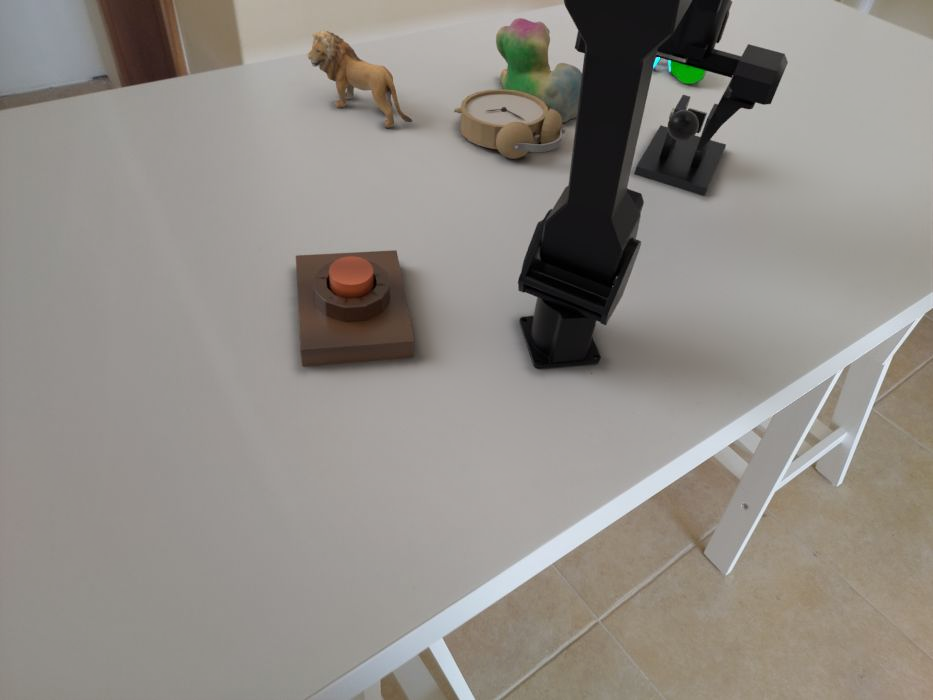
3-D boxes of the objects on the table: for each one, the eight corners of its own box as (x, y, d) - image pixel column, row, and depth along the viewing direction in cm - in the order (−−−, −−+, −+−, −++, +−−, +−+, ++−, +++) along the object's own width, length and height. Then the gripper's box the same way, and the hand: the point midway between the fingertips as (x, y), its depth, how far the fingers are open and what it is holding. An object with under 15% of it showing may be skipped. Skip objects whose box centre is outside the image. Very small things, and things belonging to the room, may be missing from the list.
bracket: (704, 196, 90) (725, 139, 85) (634, 174, 92) (650, 117, 87) (723, 152, 98) (744, 97, 92) (658, 132, 100) (674, 78, 95)
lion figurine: (304, 103, 98) (299, 35, 91) (326, 87, 101) (322, 20, 95) (402, 134, 94) (404, 66, 88) (421, 116, 98) (424, 49, 91)
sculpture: (595, 111, 103) (611, 40, 96) (557, 130, 98) (571, 57, 91) (516, 72, 109) (525, 3, 102) (477, 88, 105) (484, 17, 97)
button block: (413, 357, 67) (415, 326, 64) (302, 366, 65) (298, 335, 62) (396, 266, 76) (396, 235, 73) (297, 272, 74) (294, 240, 71)
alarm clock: (506, 81, 100) (587, 110, 91) (506, 117, 103) (584, 148, 94) (441, 102, 95) (520, 134, 86) (443, 139, 98) (520, 174, 89)
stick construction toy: (630, 44, 114) (669, 4, 111) (644, 59, 120) (682, 21, 117) (677, 97, 110) (720, 57, 107) (690, 110, 116) (730, 72, 113)
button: (375, 297, 67) (375, 283, 66) (331, 300, 66) (330, 285, 65) (371, 269, 70) (371, 255, 69) (328, 271, 69) (327, 257, 68)
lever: (690, 145, 77) (702, 115, 76) (661, 137, 78) (672, 106, 77) (702, 136, 92) (712, 110, 91) (678, 129, 93) (687, 103, 92)
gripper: (824, -28, 66) (760, 130, 77) (628, -74, 71) (594, 81, 82) (809, 10, 59) (740, 178, 70) (591, -45, 64) (558, 121, 75)
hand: (654, 136), depth 74 cm, fingers open, 9 cm apart
